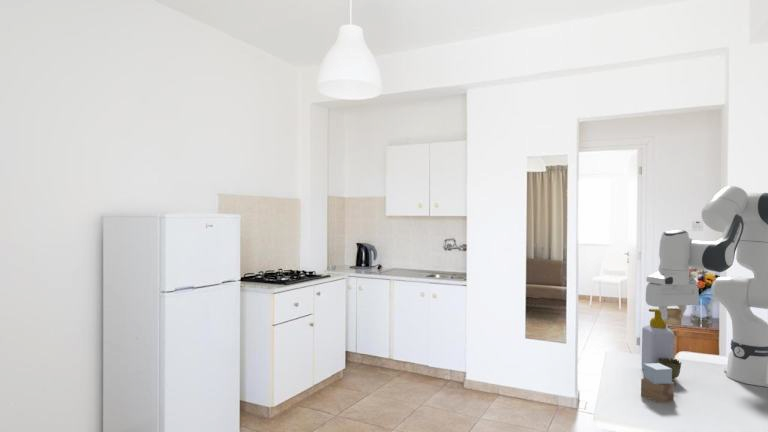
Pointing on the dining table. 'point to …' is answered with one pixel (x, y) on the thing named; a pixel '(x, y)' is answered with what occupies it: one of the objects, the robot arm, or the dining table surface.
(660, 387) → the tower base
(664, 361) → the cup
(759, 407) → the dining table surface
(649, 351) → the soap bottle
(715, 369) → the dining table surface
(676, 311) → the beech cylinder
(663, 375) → the tower top block
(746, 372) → the robot arm
